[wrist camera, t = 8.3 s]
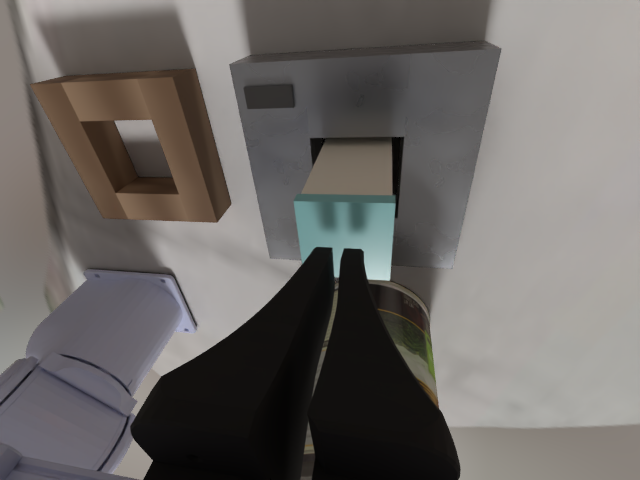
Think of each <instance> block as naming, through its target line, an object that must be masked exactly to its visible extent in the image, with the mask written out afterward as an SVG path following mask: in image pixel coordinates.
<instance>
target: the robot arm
mask: <svg viewBox="0 0 640 480" xmlns="http://www.w3.org/2000/svg"><path fill="white" fill-rule="evenodd" d="M84 275H85V277H86V278H87V280H86V281H85V282H84V283H83V284H82V285H81V286H80V287H79V288H78V289H77V290H76V291H74V292H73V293H72V294H71V295H70V296H69V297H68V298H67V299H66V300H65V301H64V302H63V303H62V304H60V305H59V306H58V307H57V308H56V309H55V310H54V311H53V312H52V313H51V314H50V315H49V316H48V317H47V318H45V319H44V320H43V321H42V322H41V323H40V324H39V326H38V327H37V328H36V329H35V331H34V332H33V334H32V336H31V337H30V340H29V342H28V345H27V349H26V358H23V359H18V360H16V361H15V362H14V363H13V364H12V365H11V366H10V367H8V368H7V369H6V370H5V371H4V372H3V373H2V374H1V375H0V480H139V479H134V478H128V477H123V476H119V475H114V474H113V472H114V471H115V470H116V468H117V467H118V465H119V464H120V462H121V461H122V459H123V457H124V456H125V454H126V452H127V450H128V448H129V446H130V444H131V442H132V439H133V438H134V440H135V441H136V442H137V443H138V444H139V446H140V447H141V448H142V449H143V450H144V451H145V452H146V453H147V454H148V455H149V456H150V458H151V459H152V460H153V462H152V464H151V466H150V468H149V470H148V472H147V474H146V476H145V477H144V479H143V480H301V472H302V464H303V456H304V449H305V442H306V435H307V428H308V421H309V426H310V432H311V437H312V442H313V447H314V452H315V461H314V467H313V474H312V480H458V479H459V477H460V463H459V459H458V456H457V451H456V448H455V445H454V442H453V439H452V436H451V434H450V431H449V428H448V426H447V423H446V421H445V419H444V416H443V414H442V412H441V411H440V410H439V408H438V407H437V406H436V404H435V403H434V402H433V401H432V399H431V398H430V397H429V395H428V394H427V392H426V391H425V390H424V388H423V387H422V386H421V384H420V383H419V381H418V380H417V378H416V377H415V375H414V374H413V373H412V371H411V370H410V368H409V366H408V365H407V363H406V361H405V360H404V358H403V357H402V355H401V353H400V352H399V350H398V348H397V347H396V345H395V343H394V341H393V339H392V338H391V336H390V334H389V332H388V330H387V328H386V326H385V324H384V322H383V320H382V317H381V315H380V313H379V310H378V308H377V305H376V303H375V300H374V298H373V295H372V292H371V289H370V285H369V282H368V279H367V275H366V270H365V265H364V251H363V250H362V249H351V248H344V250H343V253H342V256H341V260H340V272H339V285H338V299H337V307H336V312H335V317H334V321H333V325H332V330H331V334H330V337H329V341H328V345H327V349H326V353H325V357H324V360H323V364H322V367H321V371H320V374H319V378H318V381H317V384H316V387H315V390H314V393H313V388H314V382H315V376H316V372H317V367H318V363H319V359H320V355H321V351H322V348H323V344H324V340H325V336H326V332H327V329H328V325H329V321H330V317H331V313H332V306H333V299H334V292H335V280H334V264H333V248H331V247H315V248H314V249H313V250H312V252H311V253H310V255H309V256H308V257H307V259H306V260H305V261H304V263H303V264H302V265H301V267H300V268H299V269H298V270H297V272H296V273H295V274H294V275H293V276H292V277H291V279H290V280H289V281H288V282H287V283H286V284H285V286H284V287H283V288H282V289H281V290H280V291H279V292H278V293H277V294H276V295H275V296H274V297H273V298H272V299H271V300H270V301H269V302H268V303H267V304H266V305H265V306H264V307H263V308H262V309H261V310H260V311H259V312H257V313H256V314H255V315H254V316H253V317H252V318H251V319H249V320H248V321H247V322H246V323H244V324H243V325H242V326H241V327H239V328H238V329H237V330H236V331H234V332H233V333H232V334H230V335H229V336H228V337H226V338H225V339H223V340H222V341H220V342H219V343H217V344H216V345H214V346H213V347H211V348H210V349H208V350H207V351H205V352H204V353H202V354H201V355H199V356H197V357H196V358H194V359H192V360H190V361H189V362H187V363H185V364H183V365H181V366H180V367H178V368H176V369H174V370H172V371H171V372H169V373H167V374H165V375H163V376H161V378H160V379H159V381H158V382H157V384H156V385H155V386H154V388H153V389H152V391H151V392H150V394H149V396H148V397H147V399H146V401H145V402H144V404H143V406H142V407H141V409H140V411H139V412H138V414H137V416H136V417H135V415H134V414H133V413H131V411H132V410H133V408H134V406H135V405H136V403H137V400H135V399H134V398H132V397H133V395H134V394H135V392H136V391H137V389H138V388H139V386H140V385H141V383H142V381H143V380H144V378H145V376H146V375H147V374H148V372H149V371H150V369H151V368H152V366H153V364H154V363H155V361H156V360H157V358H158V357H159V355H160V354H161V352H162V350H163V349H164V347H165V346H166V344H167V343H168V341H169V340H170V338H171V337H172V335H173V333H174V332H175V331H176V332H185V333H195V332H196V330H197V327H196V325H195V323H194V321H193V319H192V316H191V314H190V312H189V310H188V308H187V305H186V303H185V301H184V299H183V297H182V294H181V292H180V290H179V288H178V286H177V283H176V281H175V279H174V278H173V277H172V276H171V275H165V274H151V273H137V272H122V271H108V270H94V269H87V270H86V271H84ZM312 395H313V396H312Z"/></svg>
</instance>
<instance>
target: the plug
mask: <svg viewBox="0 0 640 480" xmlns="http://www.w3.org/2000/svg"><path fill="white" fill-rule="evenodd" d="M294 208H295V216H296V223H297V230H298V237H299V245H300V252H301V259H302V264H303V263H304V261H305V260H306V259H307V257H308V256H309V255H310V253H311V252H312V250H313V249H314V248H315V247H331V248H333V264H334V277H339V272H340V260H341V256H342V253H343V250H344V248H351V249H362V250H363V251H364V265H365V270H366V275H367V279H371V280H387V281H390V272H391V258H392V244H393V230H394V216H395V195H392V137H343V138H326V140H325V142H324V144H323V146H322V149H321V151H320V153H319V155H318V157H317V159H316V162H315V164H314V166H313V168H312V170H311V173H310V175H309V177H308V179H307V181H306V184H305V186H304V188H303V190H302V192H301V194H297V195H296V197H295V199H294Z"/></svg>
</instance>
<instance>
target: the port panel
mask: <svg viewBox="0 0 640 480" xmlns="http://www.w3.org/2000/svg"><path fill="white" fill-rule="evenodd" d="M500 53H501V48H499V47H497V46H495V45H493V44H491V43H488V42H486V41H473V42H457V43H441V44H425V45H409V46H393V47H376V48H360V49H344V50H328V51H312V52H296V53H280V54H264V55H250V56H248V57H245V58H243V59H241V60H238V61H236V62H233V63H231V64H229V65H230V70H231V75H232V79H233V84H234V89H235V94H236V99H237V103H238V108H239V113H240V118H241V122H242V127H243V132H244V137H245V141H246V146H247V151H248V156H249V160H250V165H251V170H252V175H253V180H254V184H255V189H256V194H257V199H258V203H259V208H260V213H261V218H262V222H263V227H264V232H265V237H266V242H267V246H268V251H269V256H270V258H272V259H289V260H302V259H301V252H300V245H299V237H298V230H297V223H296V216H295V208H294V199H295V197H296V195H297V194H301V192H302V190H303V188H304V186H305V184H306V181H307V179H308V177H309V175H310V173H311V170H312V168H313V166H314V164H315V162H316V159H317V157H318V155H319V153H320V151H321V149H322V147H321V138H343V137H401V146H400V159H399V173H398V186H397V194H392V195H395V216H394V230H393V244H392V258H391V265H395V266H412V267H430V268H447V269H453V265H454V260H455V256H456V251H457V247H458V242H459V238H460V233H461V229H462V224H463V220H464V215H465V211H466V206H467V202H468V197H469V193H470V188H471V184H472V179H473V175H474V170H475V166H476V161H477V157H478V152H479V148H480V143H481V139H482V134H483V130H484V125H485V121H486V116H487V112H488V107H489V103H490V98H491V94H492V89H493V85H494V80H495V75H496V71H497V66H498V62H499V57H500Z"/></svg>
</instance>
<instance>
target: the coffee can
mask: <svg viewBox="0 0 640 480" xmlns="http://www.w3.org/2000/svg"><path fill="white" fill-rule="evenodd" d="M368 282H369V285H370V289H371V292H372V295H373V298H374V300H375V303H376V305H377V308H378V310H379V313H380V315H381V317H382V320H383V322H384V324H385V326H386V328H387V330H388V332H389V334H390V336H391V338H392V339H393V341H394V343H395V345H396V347H397V348H398V350H399V352H400V353H401V355H402V357H403V358H404V360H405V361H406V363H407V365H408V366H409V368H410V370H411V371H412V373H413V374H414V375H415V377H416V378H417V380H418V381H419V383H420V384H421V386H422V387H423V388H424V390H425V391H426V392H427V394H428V395H429V397H430V398H431V399H432V401H433V402H434V403H435V404H436V406H437V407H438V408H439V406H438V397H437V389H436V380H435V371H434V362H433V353H432V343H431V335H430V317H429V313H428V310H427V308H426V307H425V305H424V303H423V302H422V301H421V300H420V299H419V297H418V296H416V295H415V294H414V293H413V292H411V291H410V290H408V289H407V288H405V287H403V286H401V285H399V284H396V283H394V282H391V281H387V280H371V279H368ZM338 285H339V283H336V284H335V292H334V299H333V306H332V313H331V317H330V321H329V325H328V329H327V332H326V336H325V340H324V344H323V348H322V351H321V355H320V359H319V363H318V367H317V372H316V376H315V382H314V388H313V393H314V390H315V387H316V384H317V381H318V378H319V374H320V371H321V367H322V364H323V360H324V357H325V353H326V349H327V345H328V341H329V337H330V334H331V330H332V325H333V321H334V317H335V312H336V307H337V299H338ZM312 396H313V395H312ZM314 461H315V452H314V447H313V442H312V437H311V432H310V426H309V421H308V428H307V435H306V442H305V449H304V456H303V464H302V472H301V480H312V474H313V467H314Z"/></svg>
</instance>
